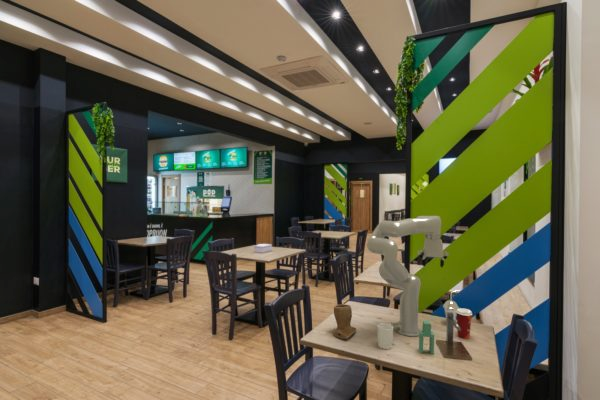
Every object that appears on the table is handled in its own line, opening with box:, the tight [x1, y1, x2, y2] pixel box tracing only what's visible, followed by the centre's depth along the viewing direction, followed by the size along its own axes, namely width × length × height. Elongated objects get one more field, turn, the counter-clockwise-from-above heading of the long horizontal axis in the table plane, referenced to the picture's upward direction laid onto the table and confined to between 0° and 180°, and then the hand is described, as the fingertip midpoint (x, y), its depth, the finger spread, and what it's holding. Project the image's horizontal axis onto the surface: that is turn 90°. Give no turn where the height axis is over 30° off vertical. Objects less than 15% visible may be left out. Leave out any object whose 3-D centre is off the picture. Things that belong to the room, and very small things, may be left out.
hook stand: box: [435, 312, 473, 361], centre depth 155 cm, size 12×17×16 cm
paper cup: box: [456, 307, 473, 340], centre depth 172 cm, size 8×8×14 cm
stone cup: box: [332, 303, 357, 340], centre depth 173 cm, size 15×12×15 cm
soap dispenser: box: [442, 289, 461, 327], centre depth 188 cm, size 8×9×20 cm
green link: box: [418, 320, 435, 355], centre depth 155 cm, size 6×4×14 cm, turn 80°
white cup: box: [376, 322, 394, 350], centre depth 160 cm, size 8×8×10 cm
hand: (432, 266), depth 188 cm, fingers open, 9 cm apart
